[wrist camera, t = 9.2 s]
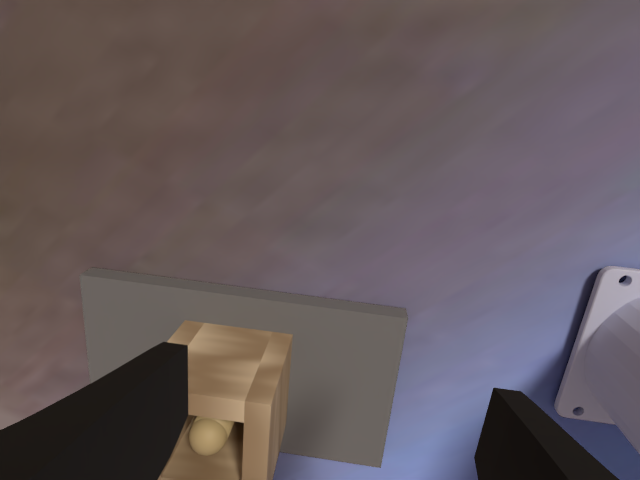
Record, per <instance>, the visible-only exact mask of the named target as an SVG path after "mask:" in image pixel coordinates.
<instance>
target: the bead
mask: <svg viewBox="0 0 640 480" xmlns="http://www.w3.org/2000/svg"><path fill="white" fill-rule="evenodd" d="M292 339H293V334H286V333H278V332H271V331H263V330H255V329H248V328H240V327H232V326H225V325H217V324H210V323H202V322H194V321H187V320H185V321H184V322H183V323H182V324H181V326H180V327H179V328H178V329H177V330H176V332H175V333H174V334H173V335H172V336H171V338H170V339H169V340H168V341H167V342H169V343H176V344H183V345H188V417H187V419H186V422H185V424H184V427H183V429H182V431H181V434H180V436H179V439H178V441H177V443H176V445H175V448H174V450H173V452H172V455H171V457H170V458H169V460H168V462H167V464H166V466H165V467H164V469H163V471H162V473H161V474H160V476H159V478H158V480H272V479H273V475H274V471H275V467H276V463H277V459H278V455H279V451H280V446H281V442H282V438H283V434H284V430H285V426H286V417H287V404H288V391H289V378H290V365H291V352H292ZM197 416H201V417H208V418H215V419H222V420H229V421H235V422H234V424H233V427H232V429H231V432H230V434H229V437H228V439H227V441H226V443H225V445H224V447H223V448H222V449H221V450H220V451H219V452H217V453H215V454H213V455H209V456H204V455H200V454H198V453H196V452H195V451H194V450H193V449H192V447H191V445H190V442H189V432H190V429H191V426H192V424H193V423H194V421H195V419H196V417H197Z"/></svg>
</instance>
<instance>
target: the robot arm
mask: <svg viewBox="0 0 640 480" xmlns="http://www.w3.org/2000/svg"><path fill="white" fill-rule="evenodd" d="M623 276H626V279H625V281H623V282H622V283H619V279H620V278H621V277H623ZM576 407H579V409H577V410H574V408H576ZM554 408H555V410H556V411H557V413H558V414H559V415H560V416H562V417H566V418H573V419H579V420H586V421H593V422H600V423H607V424H614V425H617V427H618V428H619V429H620V430H621V432H622V433H623V434H624V435H625V437H626V438H627V439H628V440H629V442H630V443H631V444H632V446H633V447H634V448H635V449H636V451H637V452H638V453H639V454H640V269H633V268H625V267H617V266H607V267H605V268H603V269H602V270H600V271H599V273H598V275H597V278H596V281H595V284H594V287H593V290H592V293H591V296H590V299H589V302H588V305H587V308H586V311H585V314H584V317H583V319H582V322H581V325H580V328H579V331H578V334H577V337H576V340H575V343H574V346H573V349H572V352H571V355H570V358H569V361H568V364H567V367H566V370H565V373H564V376H563V379H562V382H561V385H560V388H559V391H558V394H557V397H556V400H555V403H554ZM187 417H188V345H183V344H176V343H169V342H162V343H160V344H158V345H156V346H154V347H153V348H151V349H149V350H147V351H146V352H144V353H142V354H140V355H139V356H137V357H135V358H134V359H132V360H130V361H129V362H127V363H125V364H124V365H122V366H120V367H118V368H117V369H115V370H113V371H112V372H110V373H108V374H106V375H105V376H103V377H101V378H100V379H98V380H96V381H94V382H93V383H91V384H89V385H87V386H86V387H84V388H82V389H80V390H78V391H76V392H75V393H73V394H71V395H69V396H67V397H65V398H63V399H61V400H60V401H58V402H56V403H54V404H52V405H50V406H48V407H46V408H45V409H43V410H41V411H39V412H37V413H35V414H33V415H31V416H29V417H27V418H25V419H23V420H21V421H19V422H17V423H15V424H13V425H11V426H8V427H6V428H4V429H2V430H0V480H158V478H159V476H160V474H161V473H162V471H163V469H164V467H165V466H166V464H167V462H168V460H169V458H170V457H171V455H172V452H173V450H174V448H175V445H176V443H177V441H178V439H179V436H180V434H181V431H182V429H183V427H184V424H185V422H186V419H187ZM474 458H475V464H476V469H477V475H478V480H619V479H618V478H617V477H616V476H614V475H613V474H612V473H611V472H610V471H609V470H607V469H606V468H605V467H604V466H603V465H602V464H601V463H600V462H598V461H597V460H596V459H595V458H594V457H593V456H592V455H591V454H590V453H588V452H587V451H586V450H585V449H584V448H583V447H582V446H581V445H580V444H579V443H577V442H576V441H575V440H574V439H573V438H572V437H571V436H570V435H569V434H568V433H567V432H566V431H564V430H563V429H562V428H561V427H560V426H559V425H558V424H557V423H556V422H555V421H554V420H553V419H551V418H550V417H549V416H548V415H547V414H546V413H545V412H544V411H543V410H542V409H541V408H539V407H538V406H537V405H536V404H535V403H534V402H533V401H532V400H530V399H529V398H528V397H527V396H526V395H524V394H523V393H522V392H521V391H514V390H506V389H499V388H493V392H492V395H491V399H490V402H489V406H488V410H487V413H486V417H485V421H484V424H483V428H482V432H481V435H480V439H479V443H478V446H477V450H476V453H475V457H474Z"/></svg>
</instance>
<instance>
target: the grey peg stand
mask: <svg viewBox="0 0 640 480" xmlns="http://www.w3.org/2000/svg"><path fill="white" fill-rule="evenodd" d="M80 285H81V296H82V306H83V316H84V326H85V337H86V347H87V357H88V367H89V378H90V384H91V383H93V382H94V381H96V380H98V379H100V378H101V377H103V376H105V375H106V374H108V373H110V372H112V371H113V370H115V369H117V368H118V367H120V366H122V365H124V364H125V363H127V362H129V361H130V360H132V359H134V358H135V357H137V356H139V355H140V354H142V353H144V352H146V351H147V350H149V349H151V348H153V347H154V346H156V345H158V344H160V343H162V342H167V341H168V340H169V339H170V338H171V336H172V335H173V334H174V333H175V332H176V330H177V329H178V328H179V327H180V326H181V324H182V323H183V322H184V321H185V320H187V321H194V322H202V323H210V324H217V325H225V326H232V327H240V328H248V329H255V330H263V331H271V332H278V333H286V334H293V339H292V352H291V365H290V378H289V391H288V404H287V417H286V426H285V430H284V434H283V438H282V442H281V446H280V451H279V452H283V453H290V454H296V455H302V456H309V457H315V458H322V459H328V460H334V461H341V462H347V463H353V464H360V465H366V466H372V467H379V468H381V463H382V457H383V452H384V446H385V441H386V436H387V430H388V425H389V419H390V414H391V408H392V403H393V397H394V392H395V386H396V381H397V376H398V370H399V365H400V359H401V354H402V348H403V343H404V337H405V332H406V327H407V321H408V316H407V312H406V309H405V308H397V307H390V306H382V305H375V304H367V303H359V302H352V301H344V300H337V299H329V298H321V297H314V296H306V295H299V294H291V293H283V292H276V291H268V290H261V289H253V288H245V287H238V286H230V285H223V284H215V283H207V282H200V281H192V280H185V279H177V278H169V277H162V276H154V275H147V274H139V273H131V272H124V271H116V270H109V269H101V268H93V267H92V268H90V269H89V270H87V271H85V272H84V273H82V274H80ZM234 422H235V421H229V420H222V419H215V418H208V417H201V416H197V417H196V419H195V421H194V423H193V424H192V426H191V429H190V432H189V442H190V445H191V447H192V449H193V450H194V451H195V452H196V453H198V454H200V455H204V456H209V455H213V454H215V453H217V452H219V451H220V450H221V449H222V448H223V447H224V445H225V443H226V441H227V439H228V437H229V434H230V432H231V429H232V427H233V424H234Z"/></svg>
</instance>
